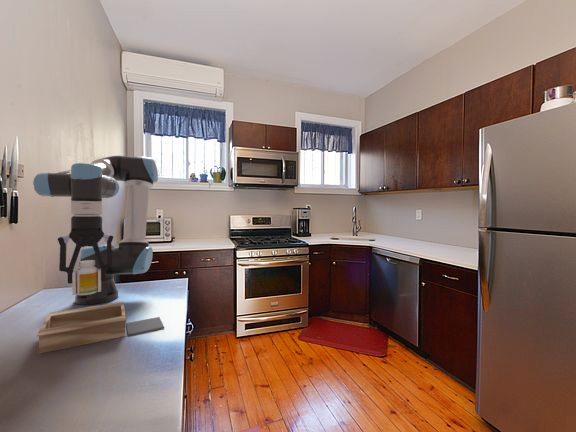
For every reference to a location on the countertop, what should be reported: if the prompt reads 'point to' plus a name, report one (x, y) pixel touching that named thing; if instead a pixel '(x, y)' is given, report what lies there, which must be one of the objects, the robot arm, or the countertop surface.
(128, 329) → the mat
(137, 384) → the countertop surface
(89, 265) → the supplement bottle
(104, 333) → the wooden frame
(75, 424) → the countertop surface
